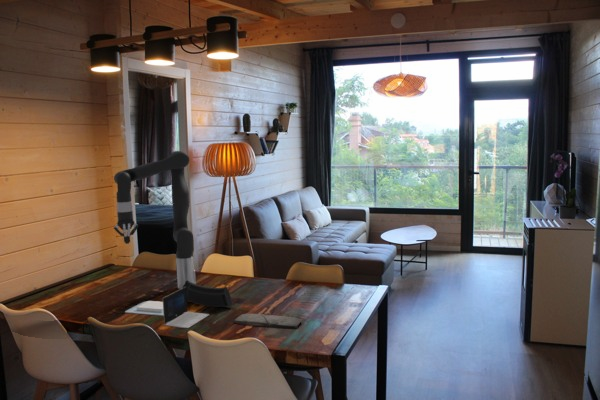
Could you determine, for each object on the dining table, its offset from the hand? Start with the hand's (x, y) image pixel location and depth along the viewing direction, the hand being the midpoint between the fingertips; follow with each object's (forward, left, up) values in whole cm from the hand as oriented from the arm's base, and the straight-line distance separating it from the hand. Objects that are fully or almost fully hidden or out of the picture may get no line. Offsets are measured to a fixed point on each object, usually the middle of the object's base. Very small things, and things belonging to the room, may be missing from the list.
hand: (127, 243), depth 274 cm
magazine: (-30, +33, -29) cm, 53 cm away
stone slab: (-46, +73, -30) cm, 91 cm away
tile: (-2, +21, -28) cm, 35 cm away
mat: (-6, +25, -29) cm, 39 cm away
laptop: (-16, +50, -30) cm, 60 cm away
